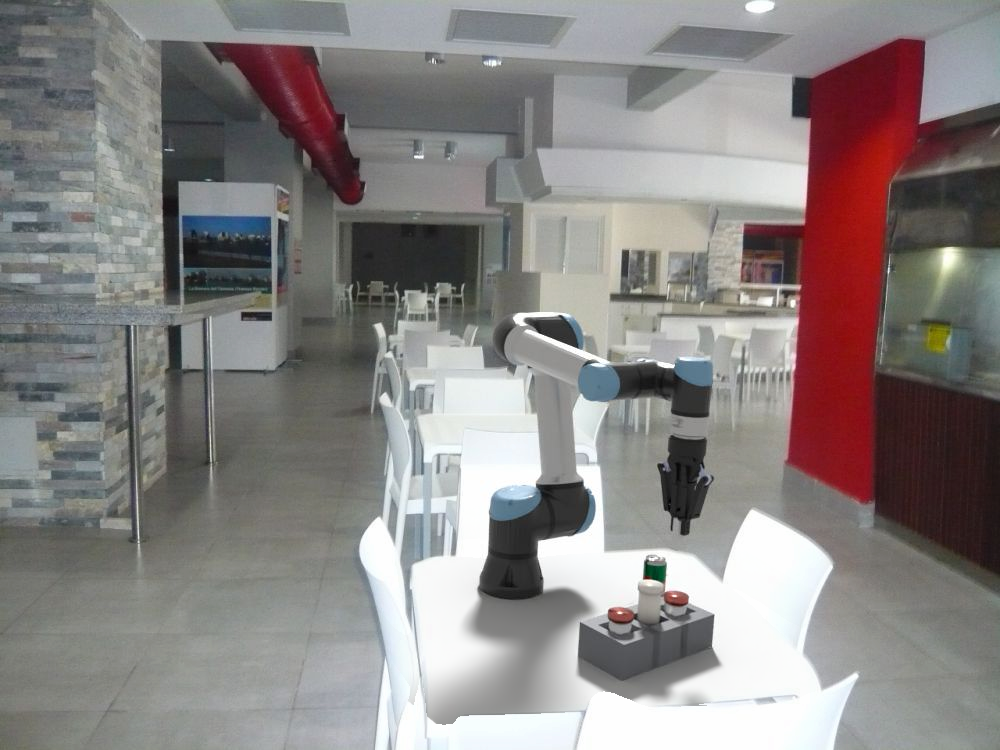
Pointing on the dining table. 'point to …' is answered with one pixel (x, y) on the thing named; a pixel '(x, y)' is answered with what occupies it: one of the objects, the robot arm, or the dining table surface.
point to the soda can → (655, 569)
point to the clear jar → (676, 603)
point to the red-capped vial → (620, 620)
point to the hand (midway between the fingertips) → (678, 548)
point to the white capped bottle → (649, 602)
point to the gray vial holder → (645, 641)
